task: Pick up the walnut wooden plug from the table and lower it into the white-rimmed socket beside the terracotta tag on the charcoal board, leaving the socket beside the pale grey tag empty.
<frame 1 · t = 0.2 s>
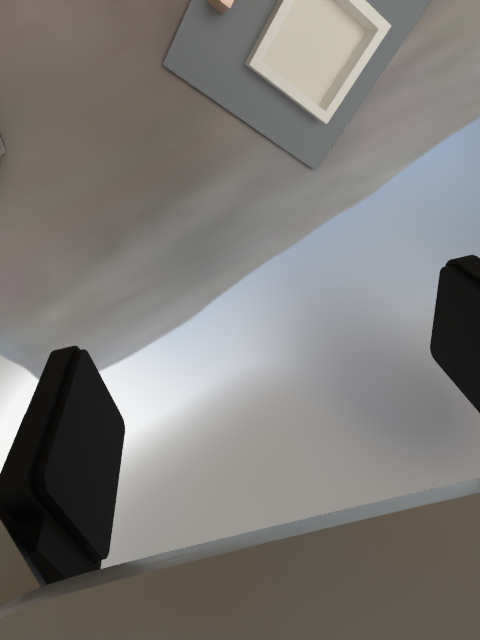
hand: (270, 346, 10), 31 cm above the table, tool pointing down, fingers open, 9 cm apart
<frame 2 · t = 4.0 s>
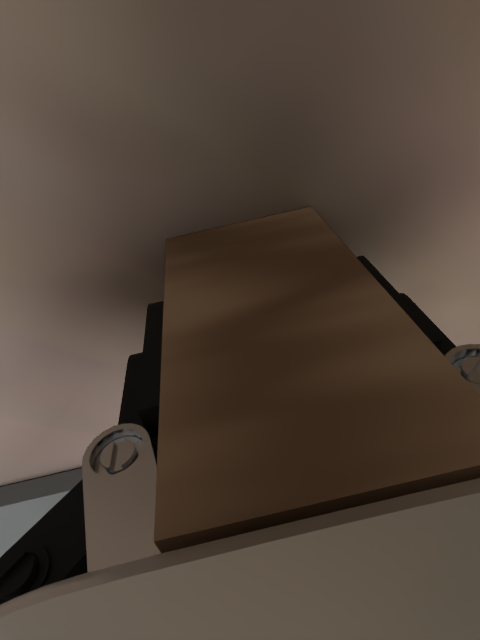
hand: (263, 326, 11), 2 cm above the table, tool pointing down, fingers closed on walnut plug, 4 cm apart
walnut plug: (250, 285, 13), on the table, touching gripper
tag board: (294, 517, 22), on the table
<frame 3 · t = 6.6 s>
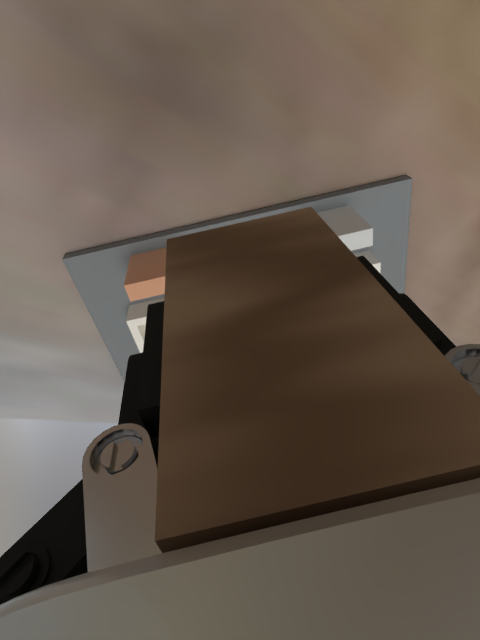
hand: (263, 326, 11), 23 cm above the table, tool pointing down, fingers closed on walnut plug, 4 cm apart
terracotta tag: (159, 257, 33), resting on tag board
pale grey tag: (322, 219, 33), resting on tag board
walnut plug: (251, 285, 13), point 20 cm above the table, touching gripper
tag board: (251, 294, 37), on the table
when the fingers open (5 cm above the table, at t = 10.1 s): walnut plug drops 2 cm, resting on tag board.
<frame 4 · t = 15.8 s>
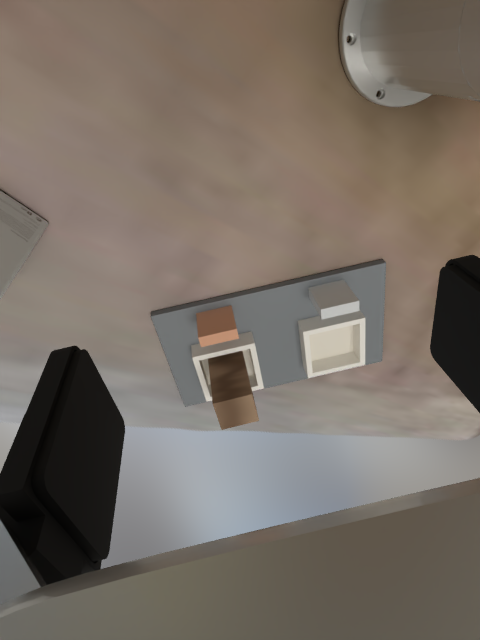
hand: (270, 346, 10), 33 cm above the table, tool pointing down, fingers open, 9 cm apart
skincare box: (3, 233, 41), on the table
terracotta tag: (215, 313, 48), resting on tag board
pale grey tag: (326, 288, 48), resting on tag board
walnut plug: (227, 361, 52), point 1 cm above the table, touching tag board
tag board: (275, 336, 53), on the table
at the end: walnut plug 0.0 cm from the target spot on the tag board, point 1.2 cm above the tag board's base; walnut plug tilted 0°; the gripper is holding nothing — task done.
